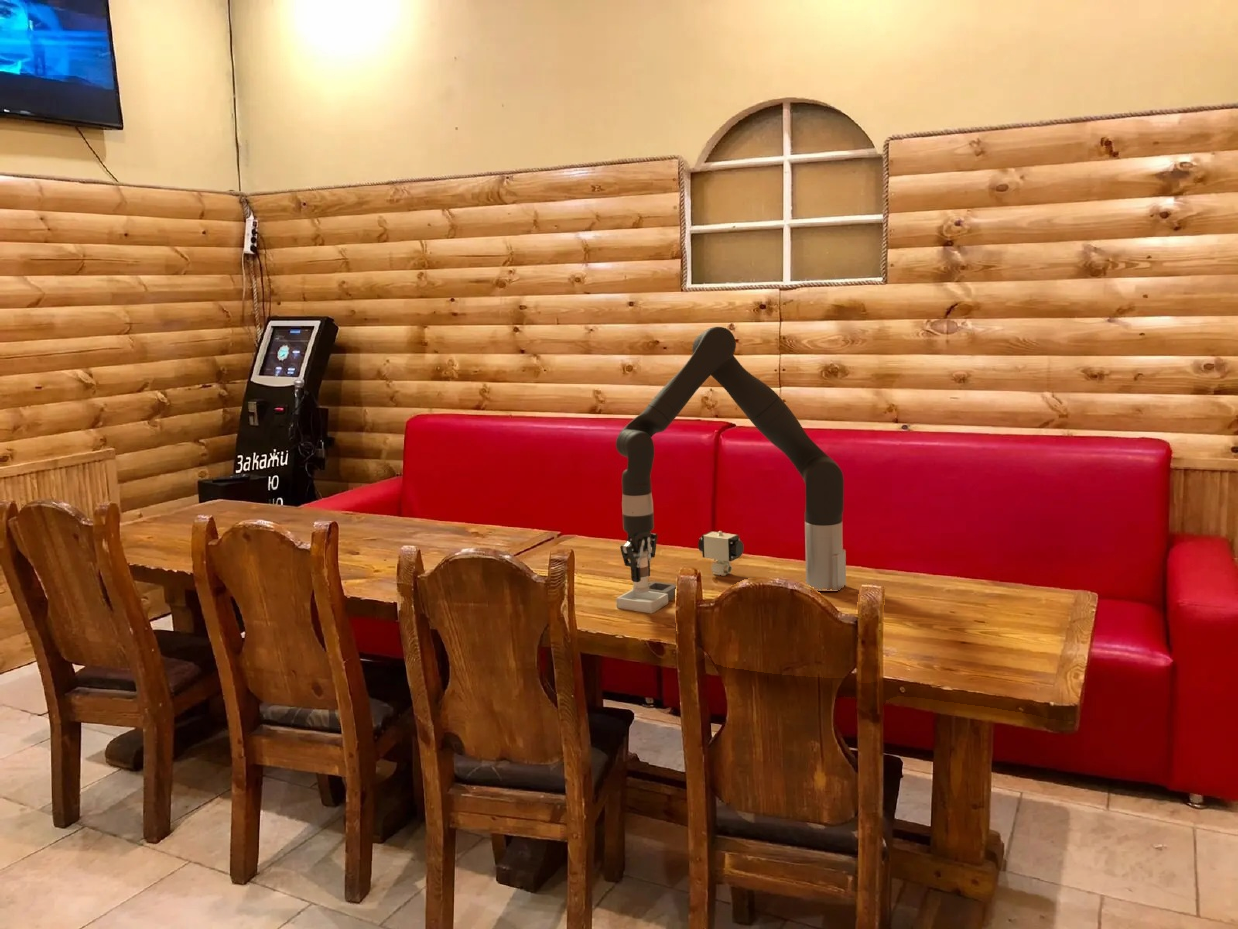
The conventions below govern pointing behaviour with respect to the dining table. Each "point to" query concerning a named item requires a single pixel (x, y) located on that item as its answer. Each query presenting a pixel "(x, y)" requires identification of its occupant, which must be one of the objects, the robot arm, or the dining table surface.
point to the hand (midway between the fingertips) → (641, 578)
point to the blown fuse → (642, 575)
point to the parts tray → (642, 601)
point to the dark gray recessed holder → (663, 588)
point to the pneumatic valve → (721, 550)
